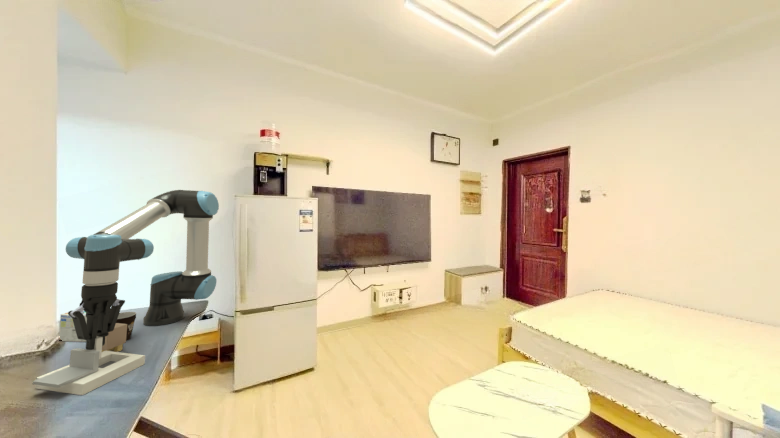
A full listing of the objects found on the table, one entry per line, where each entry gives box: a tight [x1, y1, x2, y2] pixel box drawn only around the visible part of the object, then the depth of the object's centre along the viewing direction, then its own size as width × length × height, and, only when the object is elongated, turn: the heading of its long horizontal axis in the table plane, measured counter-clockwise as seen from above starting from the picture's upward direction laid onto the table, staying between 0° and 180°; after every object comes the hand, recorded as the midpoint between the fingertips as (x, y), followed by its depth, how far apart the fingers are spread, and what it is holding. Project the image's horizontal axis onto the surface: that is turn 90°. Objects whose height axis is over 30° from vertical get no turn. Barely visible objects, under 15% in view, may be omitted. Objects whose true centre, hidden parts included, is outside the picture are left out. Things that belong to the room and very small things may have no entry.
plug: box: [102, 323, 127, 352], centre depth 92 cm, size 6×6×10 cm
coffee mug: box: [116, 311, 137, 342], centre depth 103 cm, size 12×9×10 cm
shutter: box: [32, 347, 100, 388], centre depth 73 cm, size 8×8×6 cm
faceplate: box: [34, 350, 146, 396], centre depth 79 cm, size 16×16×3 cm
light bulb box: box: [58, 310, 87, 343], centre depth 102 cm, size 11×7×11 cm, turn 92°
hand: (94, 358), depth 79 cm, fingers closed
